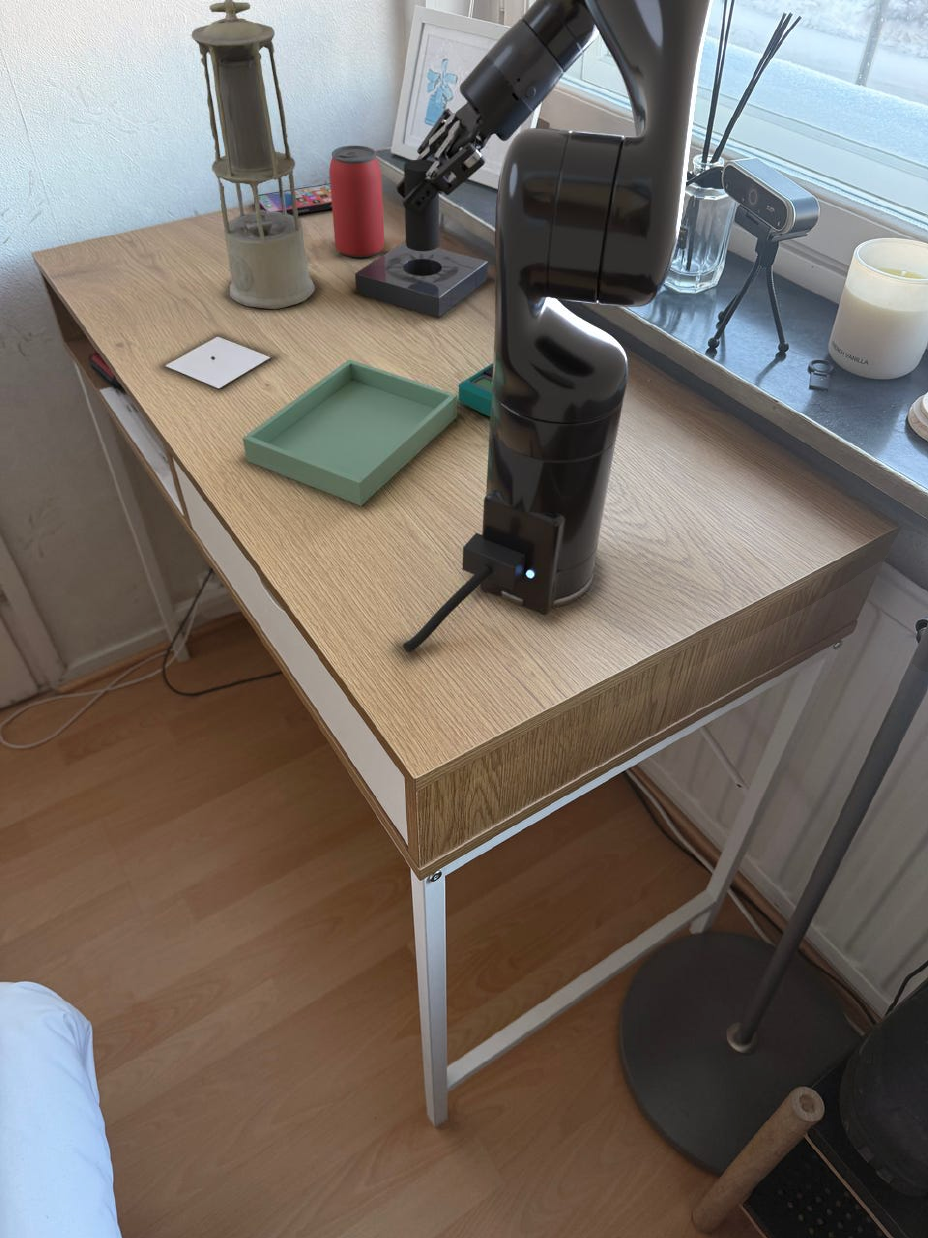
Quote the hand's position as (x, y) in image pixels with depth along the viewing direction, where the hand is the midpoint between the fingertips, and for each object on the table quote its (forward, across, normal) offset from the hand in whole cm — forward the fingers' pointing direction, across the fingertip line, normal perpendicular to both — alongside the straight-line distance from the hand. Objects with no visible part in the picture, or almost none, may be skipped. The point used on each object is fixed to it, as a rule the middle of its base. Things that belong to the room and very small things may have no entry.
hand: (405, 202), depth 102 cm
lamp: (+19, -3, -4) cm, 20 cm away
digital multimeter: (+2, +26, +13) cm, 29 cm away
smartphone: (+14, -30, 0) cm, 33 cm away
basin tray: (+15, +32, 0) cm, 35 cm away
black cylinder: (+2, 0, +5) cm, 5 cm away
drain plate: (+6, 0, +9) cm, 11 cm away
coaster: (+24, +15, -9) cm, 30 cm away
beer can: (+11, -12, +4) cm, 17 cm away
